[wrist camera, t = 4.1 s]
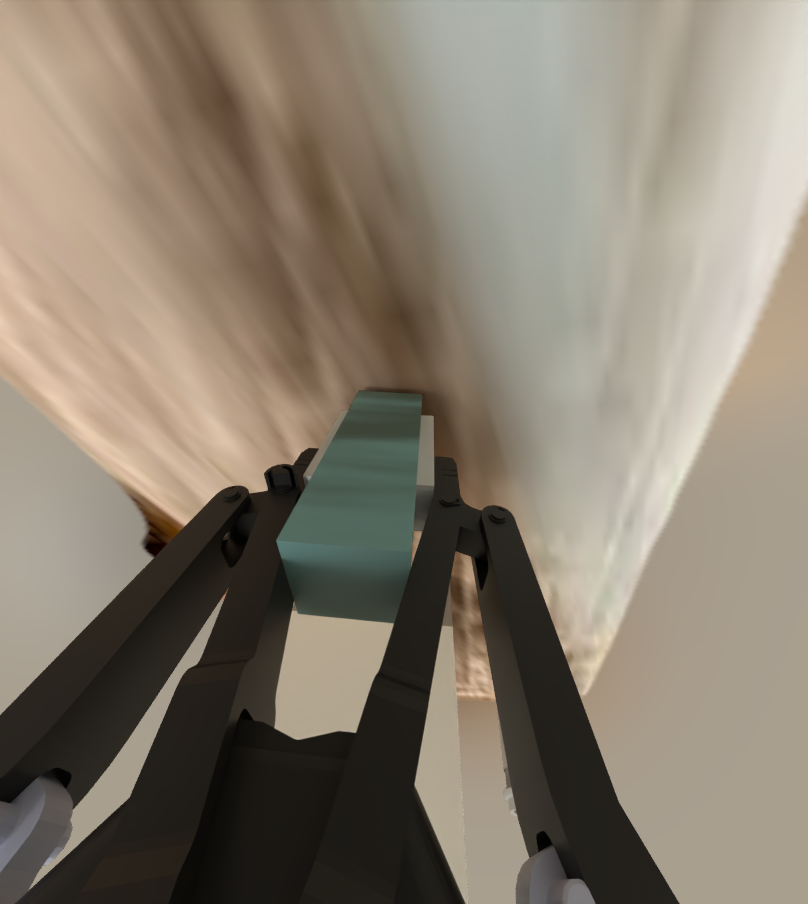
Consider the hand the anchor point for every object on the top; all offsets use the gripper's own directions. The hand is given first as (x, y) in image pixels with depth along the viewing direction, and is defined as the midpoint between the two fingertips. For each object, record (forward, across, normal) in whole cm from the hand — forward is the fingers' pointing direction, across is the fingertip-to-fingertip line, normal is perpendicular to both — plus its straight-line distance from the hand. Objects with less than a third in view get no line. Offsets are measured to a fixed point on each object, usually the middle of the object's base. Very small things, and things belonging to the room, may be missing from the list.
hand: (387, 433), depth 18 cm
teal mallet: (+2, 0, -8) cm, 8 cm away
